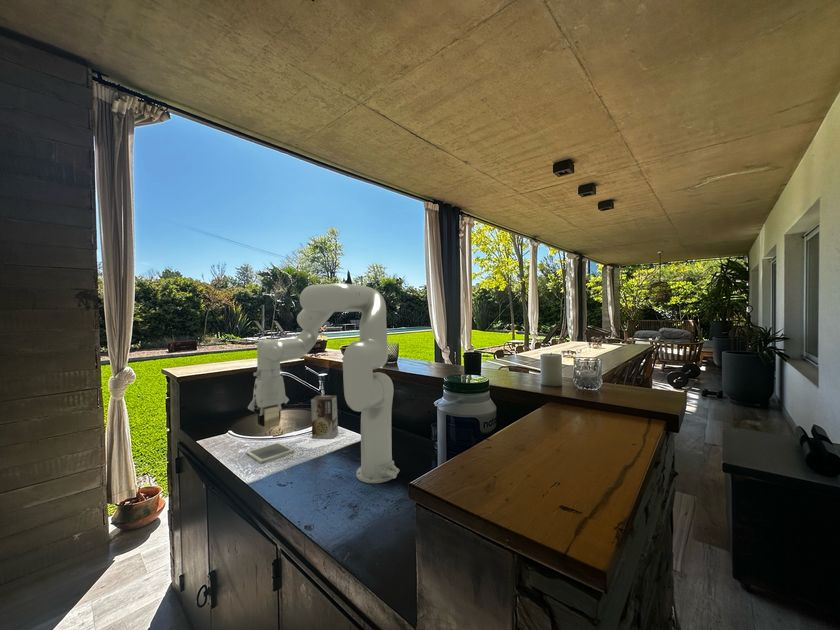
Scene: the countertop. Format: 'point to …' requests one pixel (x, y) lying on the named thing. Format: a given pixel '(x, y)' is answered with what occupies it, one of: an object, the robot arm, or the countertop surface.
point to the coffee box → (324, 416)
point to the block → (271, 417)
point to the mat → (269, 452)
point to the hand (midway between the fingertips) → (269, 423)
